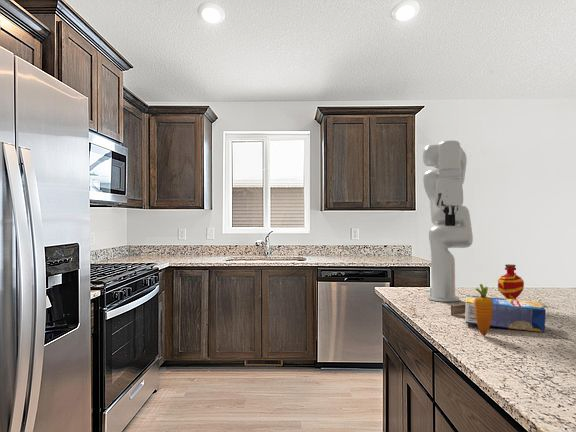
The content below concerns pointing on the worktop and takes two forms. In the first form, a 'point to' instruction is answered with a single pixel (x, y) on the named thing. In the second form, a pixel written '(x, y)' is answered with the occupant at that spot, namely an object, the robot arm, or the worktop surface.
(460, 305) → the u rest
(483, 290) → the carrot
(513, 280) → the potion bottle
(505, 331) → the worktop surface
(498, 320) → the beverage box
